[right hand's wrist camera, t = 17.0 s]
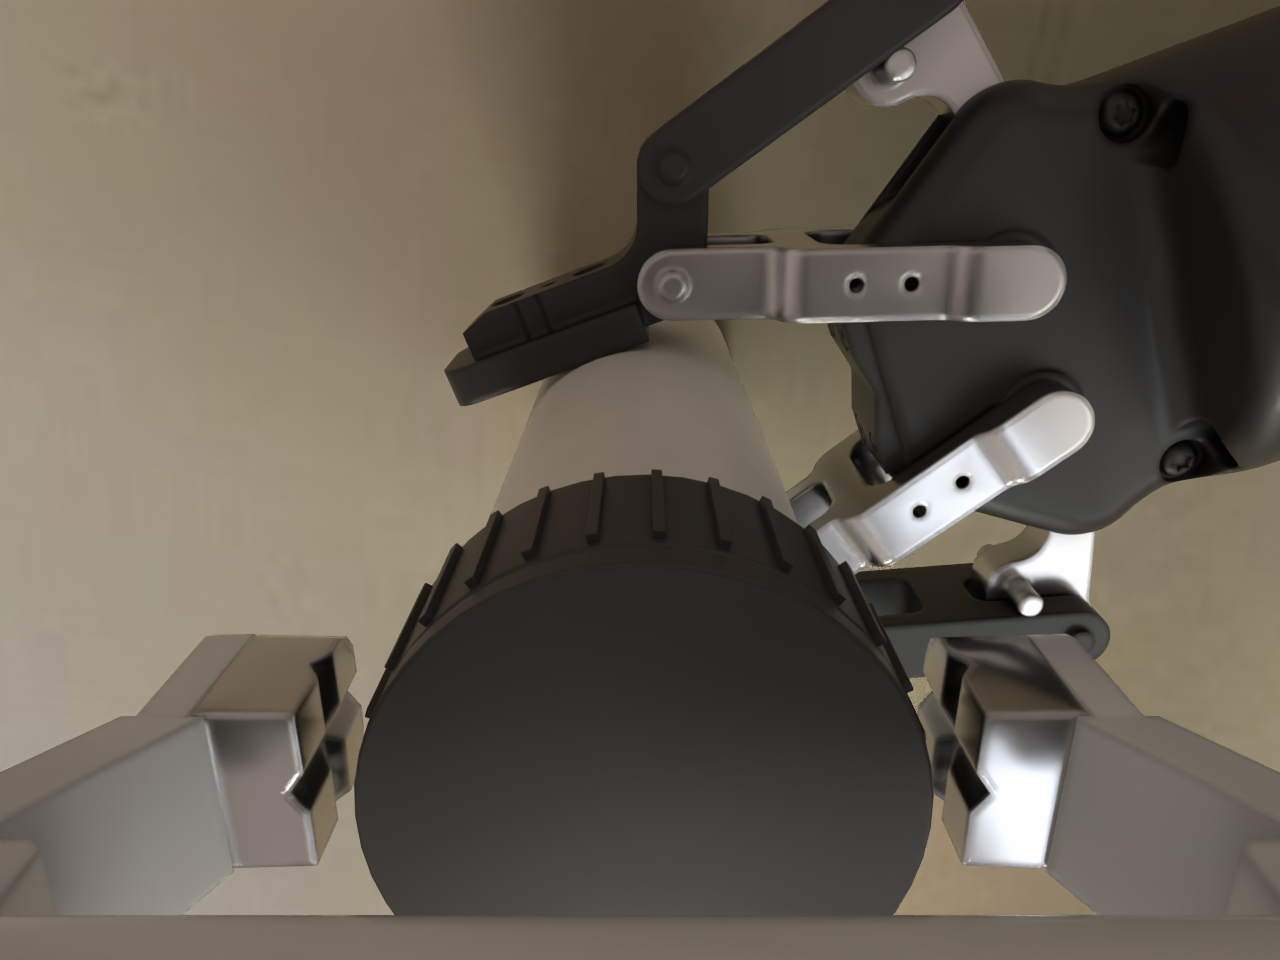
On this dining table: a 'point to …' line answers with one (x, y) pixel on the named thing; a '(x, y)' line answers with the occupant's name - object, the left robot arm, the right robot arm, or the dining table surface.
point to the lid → (643, 719)
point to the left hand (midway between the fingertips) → (517, 499)
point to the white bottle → (647, 420)
